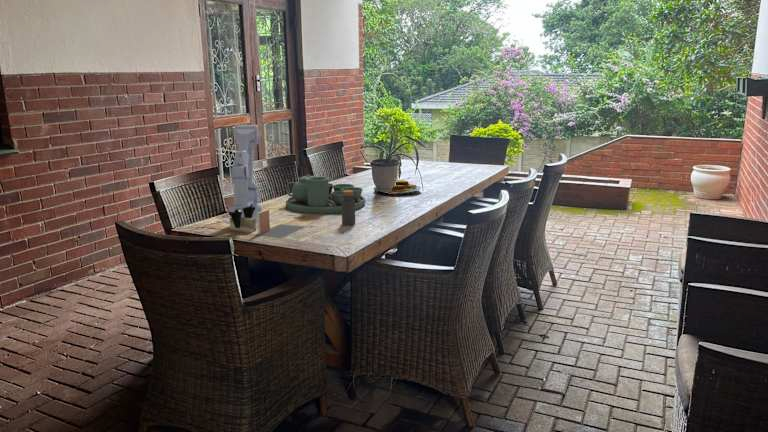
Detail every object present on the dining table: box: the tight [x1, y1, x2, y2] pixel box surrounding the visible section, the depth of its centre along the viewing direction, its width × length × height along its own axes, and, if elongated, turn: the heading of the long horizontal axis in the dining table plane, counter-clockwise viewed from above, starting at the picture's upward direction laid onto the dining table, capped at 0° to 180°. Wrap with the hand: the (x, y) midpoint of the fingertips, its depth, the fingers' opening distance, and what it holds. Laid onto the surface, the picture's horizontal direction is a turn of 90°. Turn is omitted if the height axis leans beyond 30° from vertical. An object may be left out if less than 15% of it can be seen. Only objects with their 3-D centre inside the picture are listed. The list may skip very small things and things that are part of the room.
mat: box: [254, 223, 306, 239], centre depth 254 cm, size 20×13×1 cm, turn 157°
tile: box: [256, 209, 271, 234], centre depth 251 cm, size 7×1×9 cm, turn 157°
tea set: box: [285, 174, 366, 215], centre depth 306 cm, size 40×40×16 cm
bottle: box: [341, 190, 356, 227], centre depth 266 cm, size 6×6×15 cm
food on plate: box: [382, 179, 422, 196], centre depth 341 cm, size 25×25×7 cm
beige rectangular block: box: [229, 217, 257, 233], centre depth 255 cm, size 3×11×6 cm, turn 67°
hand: (243, 225), depth 255 cm, fingers open, 7 cm apart
